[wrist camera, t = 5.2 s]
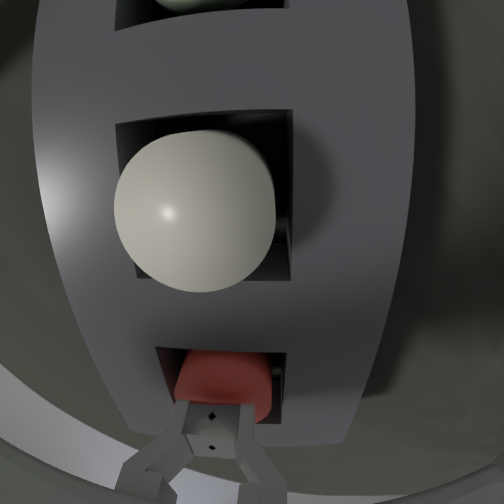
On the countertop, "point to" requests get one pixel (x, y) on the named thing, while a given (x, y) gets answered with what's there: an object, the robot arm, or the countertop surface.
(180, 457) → the robot arm
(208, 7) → the button sage
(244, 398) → the button red
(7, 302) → the countertop surface
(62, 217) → the console
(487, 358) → the countertop surface
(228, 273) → the button cream
